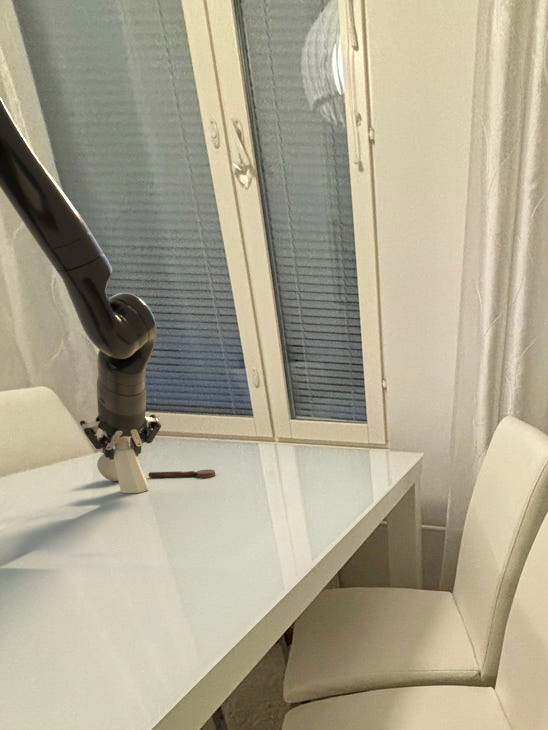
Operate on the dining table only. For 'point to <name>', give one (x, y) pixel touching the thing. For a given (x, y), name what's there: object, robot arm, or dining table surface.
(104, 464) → the ornament
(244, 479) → the dining table surface
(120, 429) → the robot arm
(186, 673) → the dining table surface
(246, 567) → the dining table surface
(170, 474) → the walnut spoon
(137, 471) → the salt shaker
